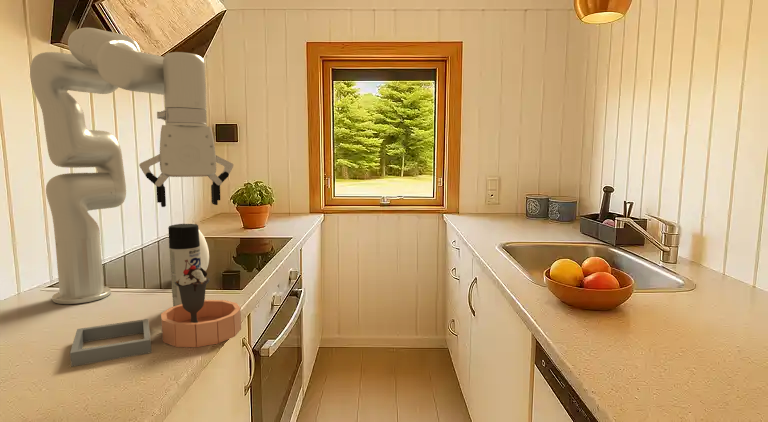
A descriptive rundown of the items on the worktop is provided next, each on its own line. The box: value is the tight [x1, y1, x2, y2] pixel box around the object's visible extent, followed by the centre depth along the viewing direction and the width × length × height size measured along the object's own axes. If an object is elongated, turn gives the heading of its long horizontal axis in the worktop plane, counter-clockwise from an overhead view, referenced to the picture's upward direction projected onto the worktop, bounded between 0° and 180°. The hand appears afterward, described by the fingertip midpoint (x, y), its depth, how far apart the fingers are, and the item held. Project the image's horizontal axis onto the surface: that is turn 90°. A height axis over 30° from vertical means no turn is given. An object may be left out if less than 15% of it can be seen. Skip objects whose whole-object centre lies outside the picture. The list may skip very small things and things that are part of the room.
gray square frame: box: [69, 318, 152, 367], centre depth 90 cm, size 12×12×2 cm
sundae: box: [175, 260, 211, 323], centre depth 96 cm, size 7×7×15 cm
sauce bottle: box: [192, 217, 210, 272], centre depth 139 cm, size 8×8×18 cm
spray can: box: [167, 223, 201, 307], centre depth 112 cm, size 7×7×20 cm
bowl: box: [160, 299, 242, 348], centre depth 97 cm, size 15×15×4 cm
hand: (189, 205), depth 95 cm, fingers open, 9 cm apart
